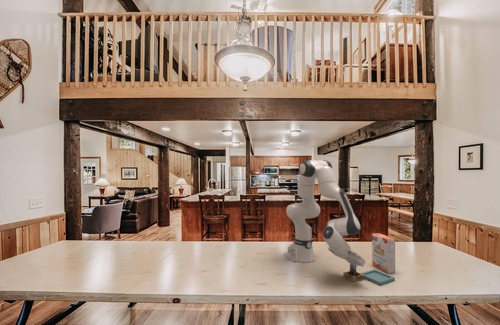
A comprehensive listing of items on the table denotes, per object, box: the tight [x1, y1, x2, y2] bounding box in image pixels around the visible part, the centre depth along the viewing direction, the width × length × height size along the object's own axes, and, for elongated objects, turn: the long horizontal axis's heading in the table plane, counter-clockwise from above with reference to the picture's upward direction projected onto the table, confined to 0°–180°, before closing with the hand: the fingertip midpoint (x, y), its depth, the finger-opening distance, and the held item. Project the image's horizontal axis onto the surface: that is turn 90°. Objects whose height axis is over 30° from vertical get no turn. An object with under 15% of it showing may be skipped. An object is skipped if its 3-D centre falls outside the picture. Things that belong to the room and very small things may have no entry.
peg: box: [349, 262, 357, 277], centre depth 150 cm, size 4×4×12 cm
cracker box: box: [371, 232, 396, 275], centre depth 162 cm, size 14×6×21 cm, turn 11°
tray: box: [360, 269, 396, 287], centre depth 148 cm, size 13×13×2 cm
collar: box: [342, 270, 365, 283], centre depth 149 cm, size 8×8×2 cm
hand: (353, 263), depth 150 cm, fingers closed on peg, 4 cm apart
